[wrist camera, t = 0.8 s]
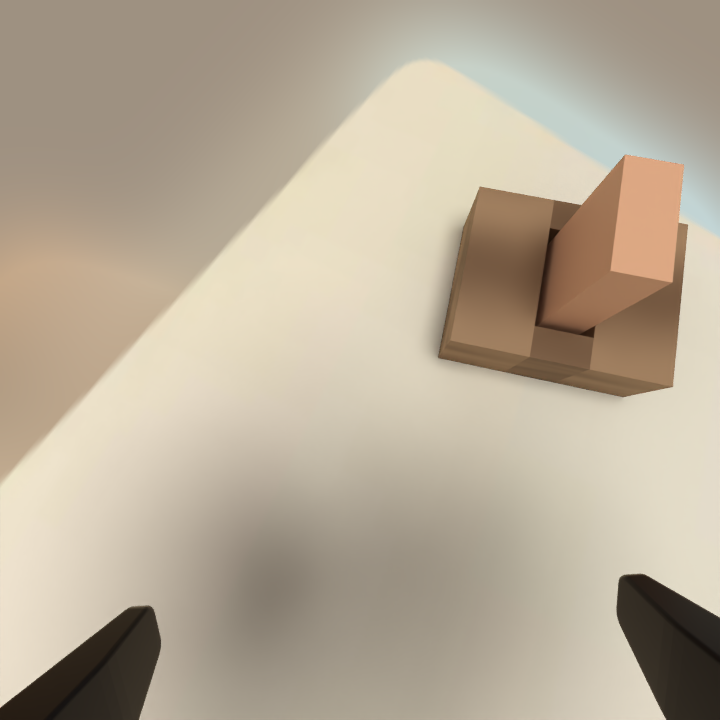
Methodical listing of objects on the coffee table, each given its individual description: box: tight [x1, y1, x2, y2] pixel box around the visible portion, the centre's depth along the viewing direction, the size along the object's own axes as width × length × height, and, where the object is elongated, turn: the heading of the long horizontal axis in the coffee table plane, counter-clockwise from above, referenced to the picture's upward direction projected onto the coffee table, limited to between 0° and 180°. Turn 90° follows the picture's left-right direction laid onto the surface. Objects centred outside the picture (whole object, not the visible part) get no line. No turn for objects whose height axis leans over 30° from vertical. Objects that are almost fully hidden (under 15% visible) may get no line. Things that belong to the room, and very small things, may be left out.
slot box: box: [438, 187, 688, 397], centre depth 23 cm, size 8×10×4 cm
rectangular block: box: [535, 155, 684, 335], centre depth 20 cm, size 4×2×10 cm, turn 167°
